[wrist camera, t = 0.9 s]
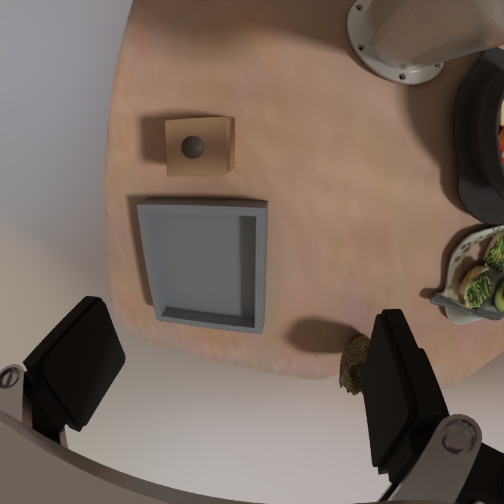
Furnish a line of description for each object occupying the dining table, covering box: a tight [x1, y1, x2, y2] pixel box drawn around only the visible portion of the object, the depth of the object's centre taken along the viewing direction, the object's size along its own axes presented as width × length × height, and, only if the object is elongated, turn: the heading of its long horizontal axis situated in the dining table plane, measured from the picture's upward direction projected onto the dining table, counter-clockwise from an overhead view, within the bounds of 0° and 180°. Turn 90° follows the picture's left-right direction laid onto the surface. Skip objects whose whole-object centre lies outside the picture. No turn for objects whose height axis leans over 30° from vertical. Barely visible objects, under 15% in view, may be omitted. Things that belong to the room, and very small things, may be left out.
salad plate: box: [430, 223, 504, 324], centre depth 32 cm, size 19×18×5 cm
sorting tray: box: [137, 198, 268, 334], centre depth 38 cm, size 18×16×3 cm
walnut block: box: [165, 117, 235, 177], centre depth 30 cm, size 6×6×6 cm
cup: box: [339, 335, 370, 395], centre depth 38 cm, size 8×7×8 cm
